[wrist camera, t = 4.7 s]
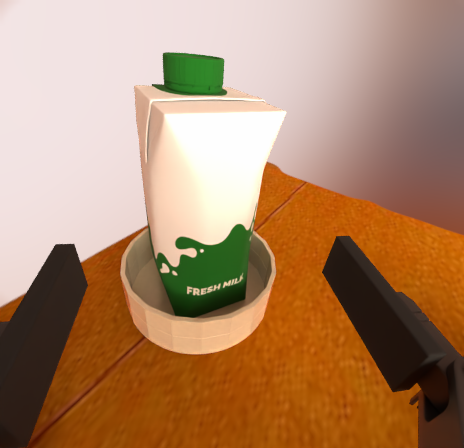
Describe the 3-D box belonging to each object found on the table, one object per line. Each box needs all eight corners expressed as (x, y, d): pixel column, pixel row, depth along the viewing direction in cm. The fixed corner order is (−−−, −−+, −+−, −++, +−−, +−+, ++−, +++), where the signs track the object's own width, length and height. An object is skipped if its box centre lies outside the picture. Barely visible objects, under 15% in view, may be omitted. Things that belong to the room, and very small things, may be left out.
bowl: (93, 316, 24) (81, 282, 21) (176, 232, 35) (174, 203, 32) (241, 383, 20) (248, 352, 18) (280, 266, 31) (288, 236, 29)
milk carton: (220, 248, 32) (236, 57, 21) (258, 304, 26) (312, 73, 14) (147, 267, 29) (117, 47, 17) (171, 338, 22) (149, 63, 11)
